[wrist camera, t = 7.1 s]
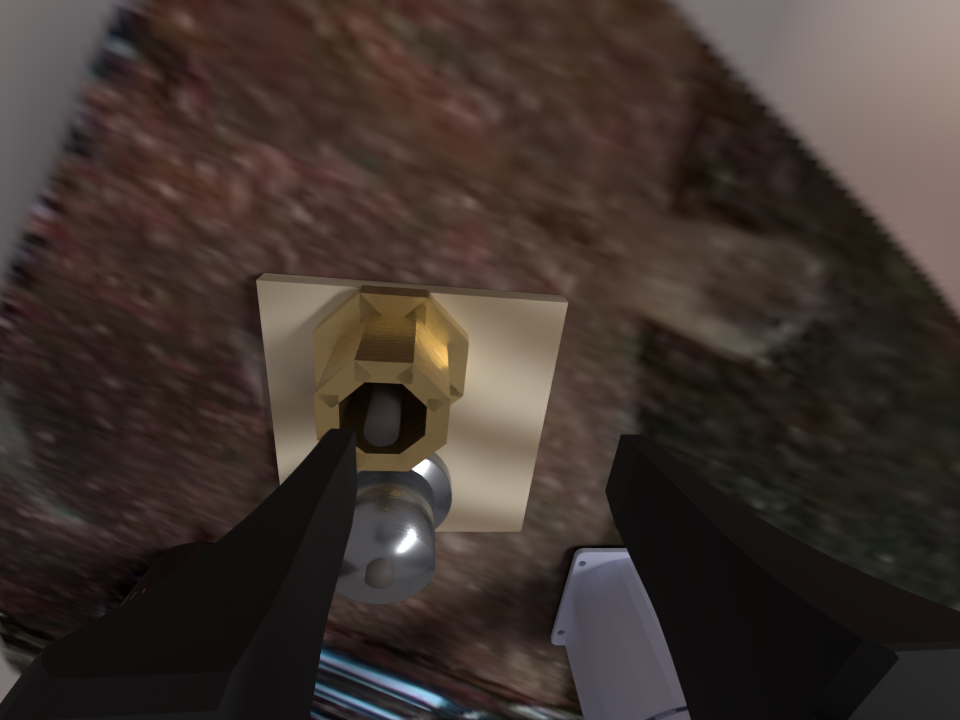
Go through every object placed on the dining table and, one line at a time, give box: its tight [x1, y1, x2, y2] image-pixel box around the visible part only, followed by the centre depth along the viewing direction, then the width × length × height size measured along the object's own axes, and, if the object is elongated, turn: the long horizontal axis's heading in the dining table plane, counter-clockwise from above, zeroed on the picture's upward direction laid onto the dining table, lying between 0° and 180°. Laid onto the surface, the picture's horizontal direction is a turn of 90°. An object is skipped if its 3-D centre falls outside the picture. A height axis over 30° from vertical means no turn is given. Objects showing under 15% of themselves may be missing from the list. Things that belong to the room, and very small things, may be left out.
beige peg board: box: [256, 273, 568, 589], centre depth 20 cm, size 14×13×6 cm
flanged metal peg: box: [335, 452, 452, 604], centre depth 22 cm, size 6×6×5 cm
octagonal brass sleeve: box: [313, 285, 469, 471], centre depth 18 cm, size 6×6×5 cm
